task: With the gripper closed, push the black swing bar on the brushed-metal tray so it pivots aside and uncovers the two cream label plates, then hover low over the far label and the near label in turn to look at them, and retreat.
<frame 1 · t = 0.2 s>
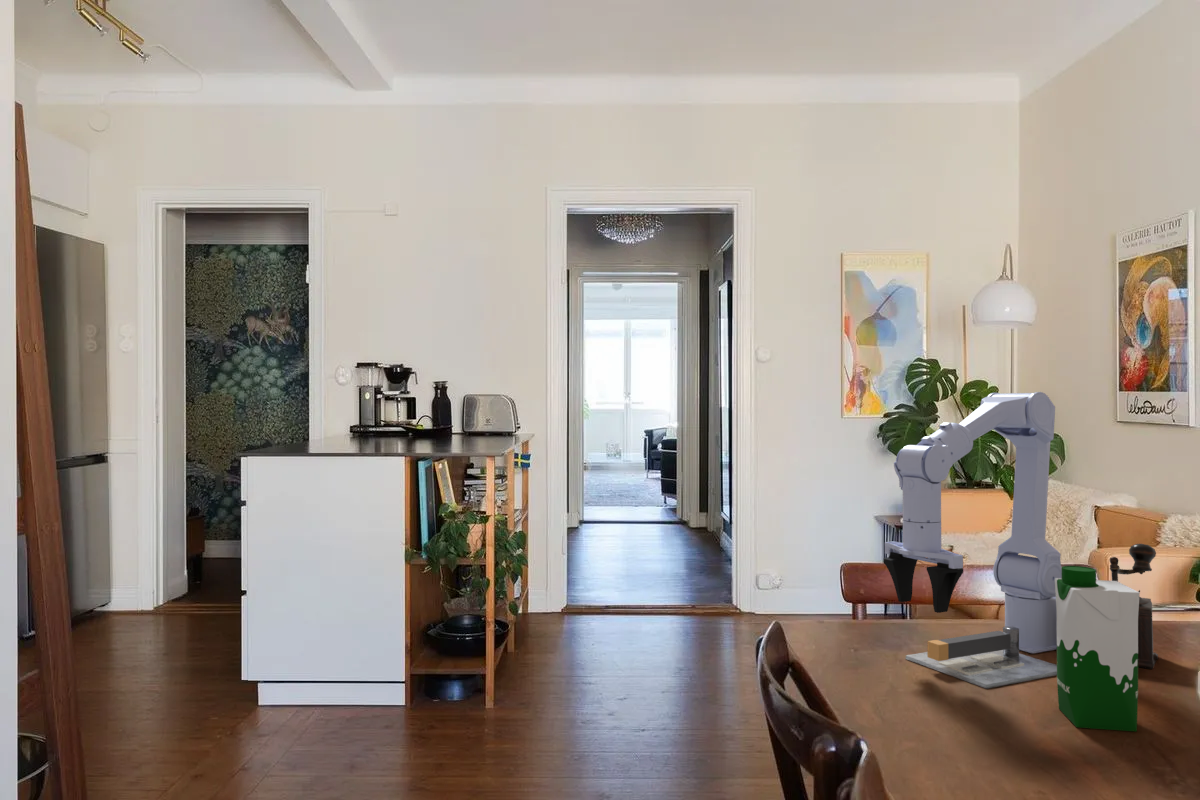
hand: (922, 606, 134), 10 cm above the table, tool pointing down, fingers open, 7 cm apart
tray base: (985, 665, 135), on the table
swing arm: (969, 645, 135), point 3 cm above the table, hinge at 0.0°
milk carton: (1096, 721, 112), on the table
manual coffee grinder: (1118, 654, 142), on the table
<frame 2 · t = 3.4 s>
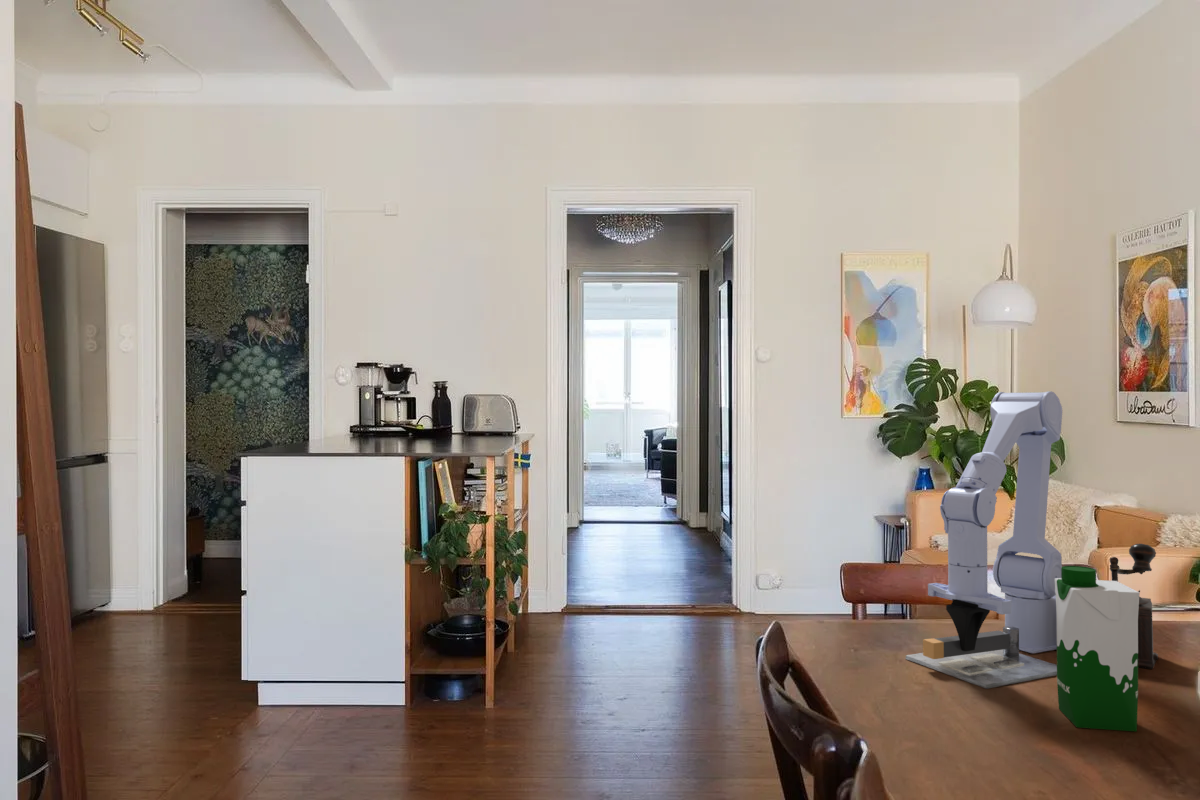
hand: (967, 650, 133), 3 cm above the table, tool pointing down, fingers closed
swing arm: (966, 644, 136), point 3 cm above the table, hinge at -3.4°, touching gripper
everything else where it was.
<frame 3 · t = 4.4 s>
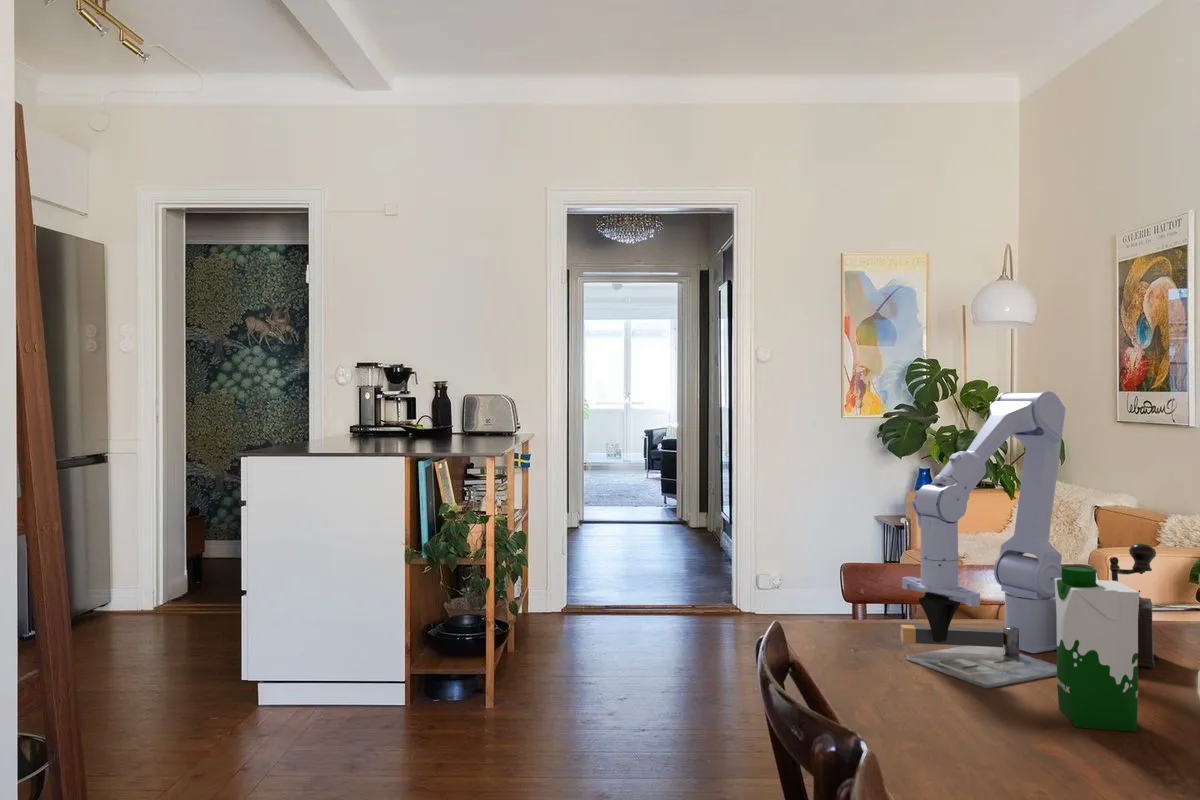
hand: (939, 640, 139), 3 cm above the table, tool pointing down, fingers closed
swing arm: (951, 635, 141), point 3 cm above the table, hinge at -34.2°, touching gripper
everything else where it was.
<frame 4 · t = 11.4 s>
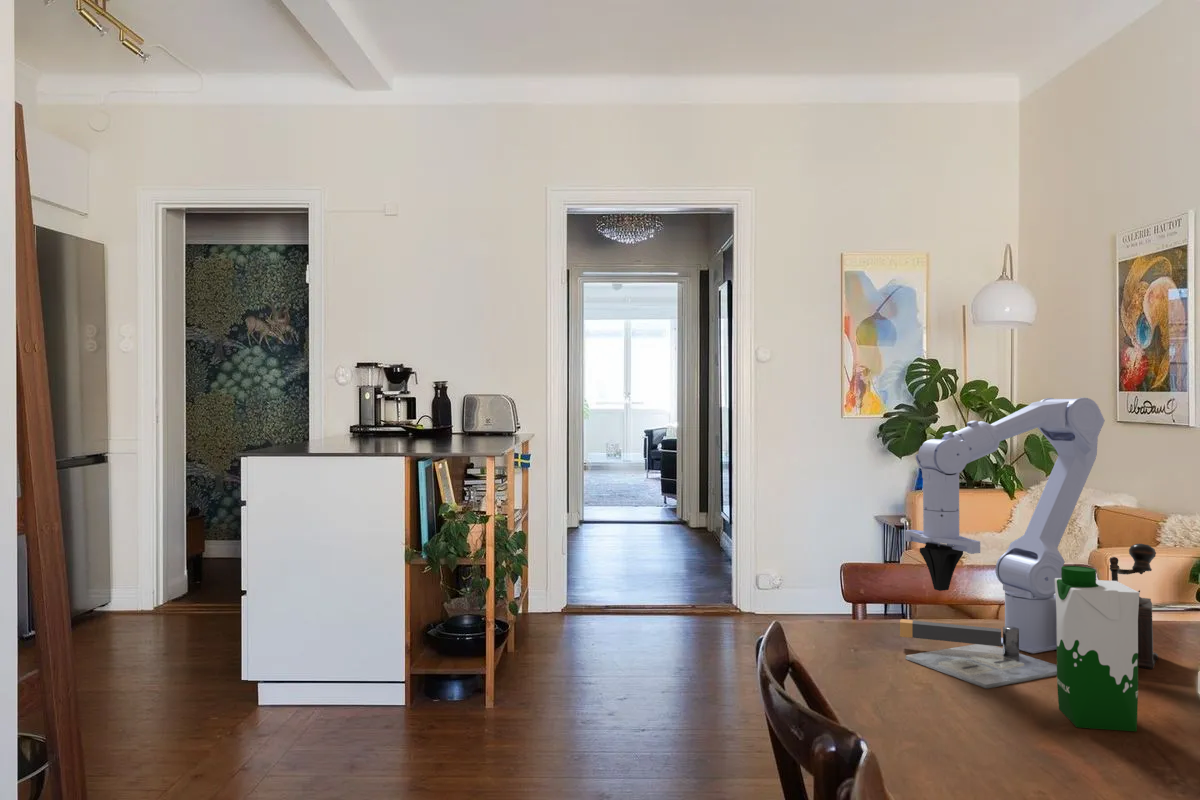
hand: (941, 589, 143), 10 cm above the table, tool pointing down, fingers closed
swing arm: (949, 632, 143), point 3 cm above the table, hinge at -47.3°
everything else where it was.
at the end: swing arm at -47° (first picture: +0°); milk carton moved 0.2 cm from its start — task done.
